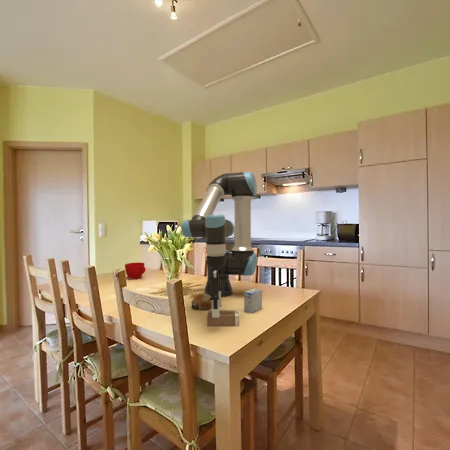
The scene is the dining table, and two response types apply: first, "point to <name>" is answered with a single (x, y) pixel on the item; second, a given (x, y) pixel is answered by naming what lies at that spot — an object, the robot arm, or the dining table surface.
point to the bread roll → (202, 302)
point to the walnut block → (224, 318)
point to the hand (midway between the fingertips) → (216, 311)
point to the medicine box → (252, 300)
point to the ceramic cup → (134, 270)
